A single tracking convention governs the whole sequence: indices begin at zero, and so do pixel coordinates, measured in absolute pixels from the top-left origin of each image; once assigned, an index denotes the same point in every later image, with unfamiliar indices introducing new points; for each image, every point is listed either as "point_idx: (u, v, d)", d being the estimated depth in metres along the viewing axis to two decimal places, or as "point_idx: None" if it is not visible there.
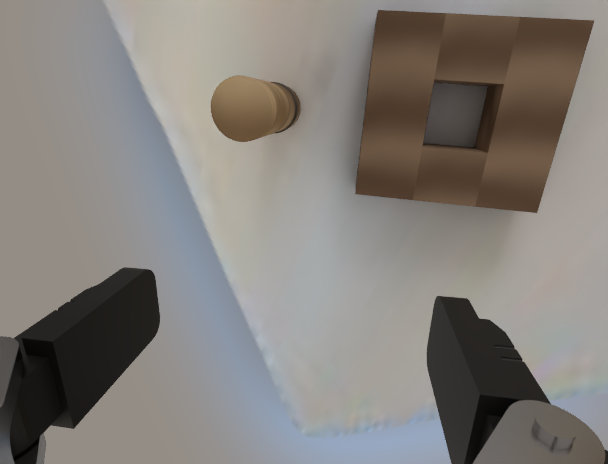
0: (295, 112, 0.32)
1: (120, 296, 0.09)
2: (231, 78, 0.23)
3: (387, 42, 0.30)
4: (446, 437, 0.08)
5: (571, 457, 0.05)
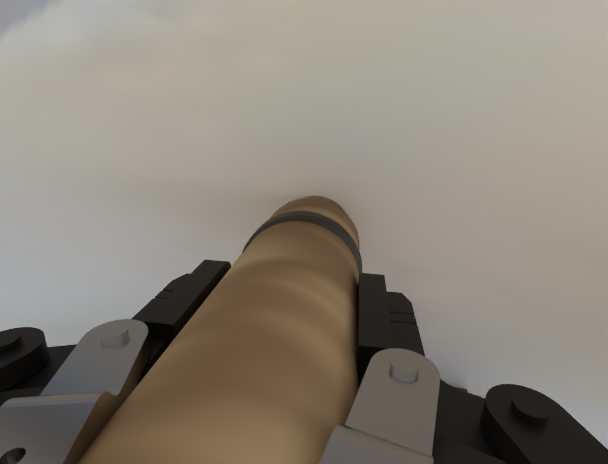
0: None
1: (211, 285, 0.10)
2: None
3: None
4: None
5: (409, 386, 0.06)
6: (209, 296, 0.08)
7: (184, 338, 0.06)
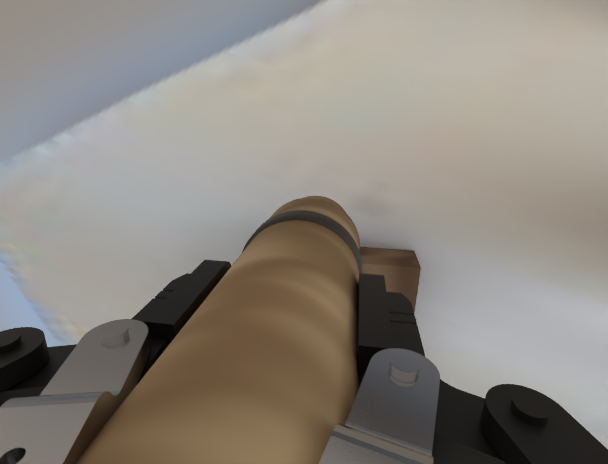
0: None
1: (211, 285, 0.10)
2: None
3: (393, 277, 0.33)
4: None
5: (409, 386, 0.06)
6: (209, 295, 0.08)
7: (184, 337, 0.06)
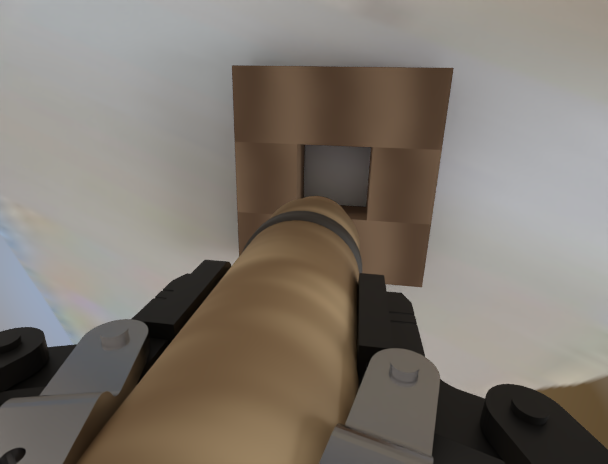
0: None
1: (211, 285, 0.10)
2: None
3: (416, 85, 0.25)
4: None
5: (409, 386, 0.06)
6: (209, 295, 0.08)
7: (184, 337, 0.06)
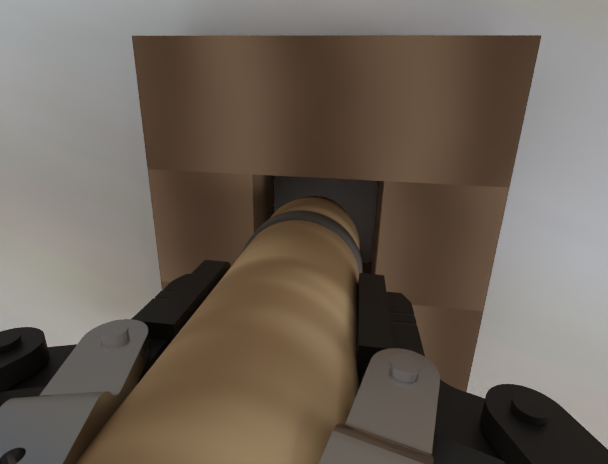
0: None
1: (212, 285, 0.10)
2: None
3: (467, 69, 0.13)
4: None
5: (409, 386, 0.06)
6: (209, 295, 0.08)
7: (184, 337, 0.06)
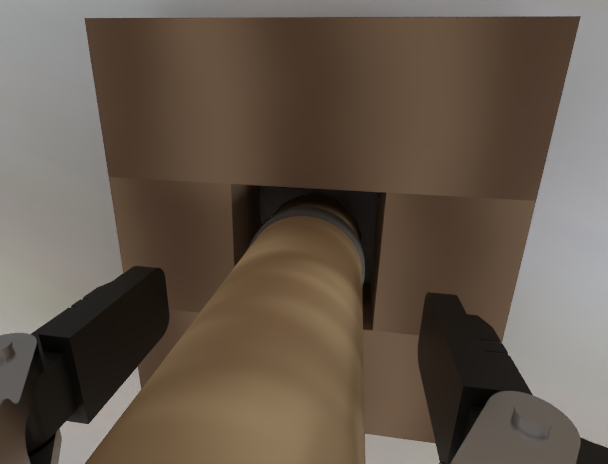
0: None
1: (132, 294, 0.09)
2: None
3: (487, 59, 0.11)
4: (433, 429, 0.08)
5: (547, 444, 0.05)
6: (221, 286, 0.09)
7: (201, 323, 0.07)
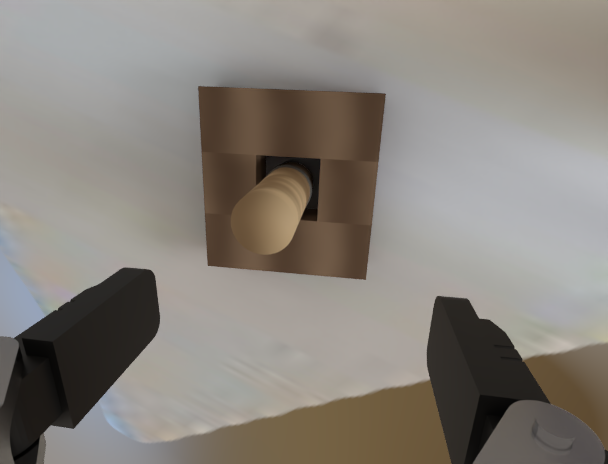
0: None
1: (120, 296, 0.09)
2: (292, 216, 0.22)
3: (355, 107, 0.29)
4: (446, 437, 0.08)
5: (571, 457, 0.05)
6: None
7: (256, 186, 0.25)
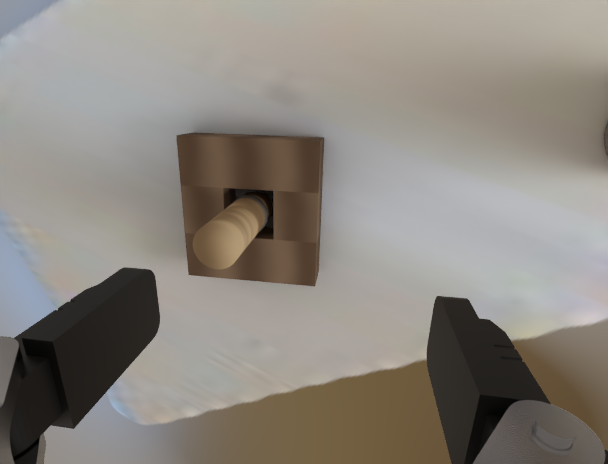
0: None
1: (120, 296, 0.09)
2: (236, 241, 0.30)
3: (297, 151, 0.37)
4: (446, 437, 0.08)
5: (571, 457, 0.05)
6: None
7: (215, 217, 0.33)
